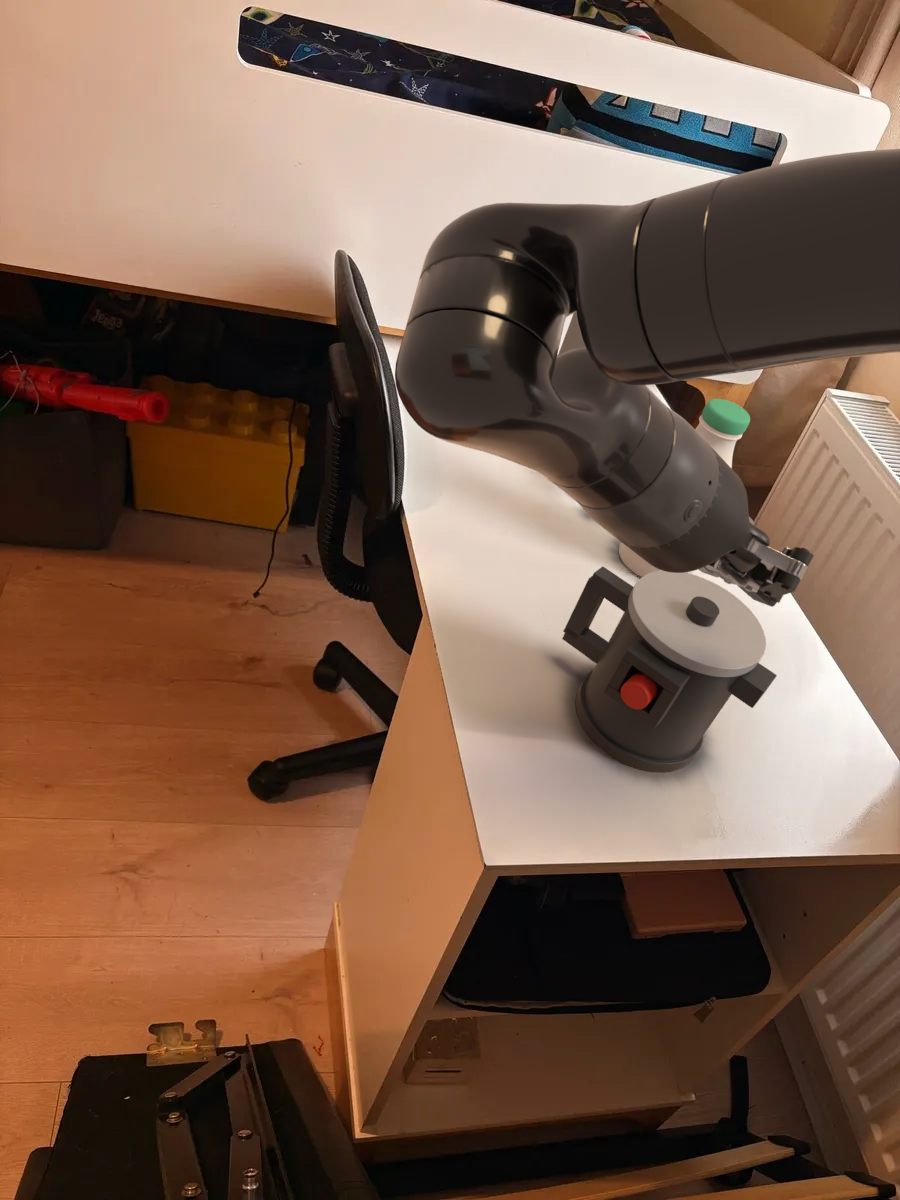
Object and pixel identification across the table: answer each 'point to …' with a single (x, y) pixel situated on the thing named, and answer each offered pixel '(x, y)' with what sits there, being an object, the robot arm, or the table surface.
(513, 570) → the table surface
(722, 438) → the milk bottle
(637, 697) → the kettle button
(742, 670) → the kettle jug
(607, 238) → the robot arm
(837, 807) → the table surface
